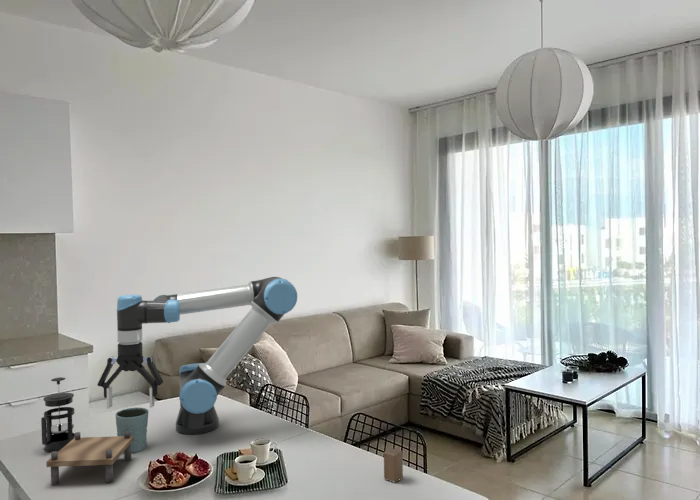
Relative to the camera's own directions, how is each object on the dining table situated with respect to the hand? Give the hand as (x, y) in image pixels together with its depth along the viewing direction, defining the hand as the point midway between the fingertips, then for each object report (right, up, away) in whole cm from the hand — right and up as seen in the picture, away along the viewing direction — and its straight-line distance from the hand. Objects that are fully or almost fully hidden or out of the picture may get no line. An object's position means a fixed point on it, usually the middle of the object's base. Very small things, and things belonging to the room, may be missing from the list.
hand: (130, 406), depth 180 cm
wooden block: (+84, -14, -25) cm, 89 cm away
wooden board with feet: (-5, -14, -17) cm, 23 cm away
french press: (-25, -14, +2) cm, 28 cm away
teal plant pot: (0, -14, +1) cm, 14 cm away
